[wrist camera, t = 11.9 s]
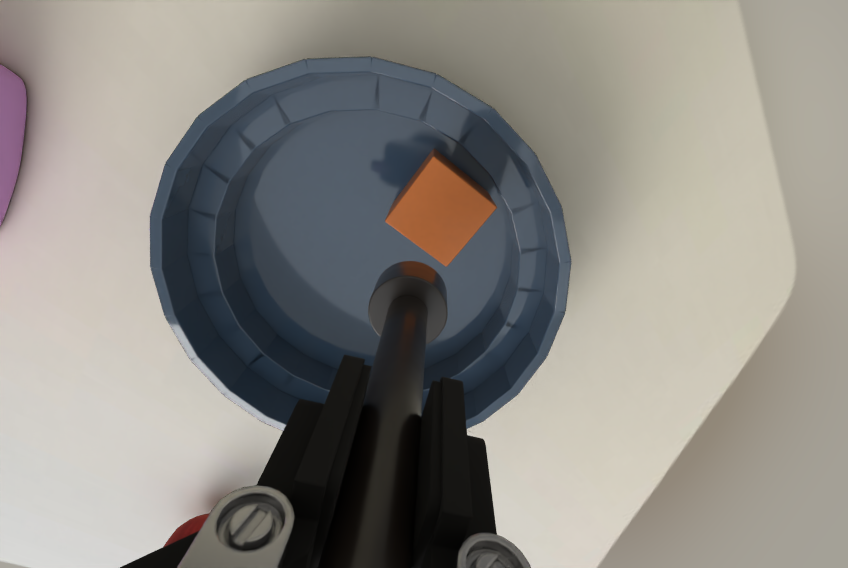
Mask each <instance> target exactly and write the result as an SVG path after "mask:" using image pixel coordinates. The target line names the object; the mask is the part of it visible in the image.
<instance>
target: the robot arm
mask: <svg viewBox="0 0 848 568" xmlns="http://www.w3.org/2000/svg"><path fill="white" fill-rule="evenodd" d="M364 362H365V359H363V358H358V357H354V356H350V355H344V356H343V358H342V361H341V364H340V366H339V369H338V371H337V374H336V376H335V379H334V381H333V384H332V386H331V389H330V391H329V394H328V396H327V399H326V401H325V404H322V403H318V402H313V401H308V400H304V399H300V400H299V401H298V402H297V404H296V406H295V408H294V410H293V412H292V414H291V416H290V418H289V420H288V422H287V424H286V426H285V428H284V430H283V433H282V435H281V437H280V439H279V441H278V443H277V445H276V447H275V449H274V451H273V453H272V455H271V457H270V459H269V461H268V463H267V465H266V467H265V469H264V471H263V473H262V475H261V477H260V479H259V481H258V483H257V485H256V486H249V487H243V488H241V489H238V490H236V491H233V492H231V493H230V494H228V495H227V496H225V497H224V498H223V499H221V500H220V501H219V502H218V503H217V505H216V506H215V507H214V508H213V510H212V511H211V512H210V514H209V516H208V517H207V519H206V521H205V522H204V524H203V526H202V527H201V529H200V530H199V531H197V532H195V533H193V534H191V535H189V536H186V537H184V538H182V539H180V540H178V541H176V542H174V543H171V544H169V545H167V546H165V547H163V548H161V549H159V550H157V551H154V552H152V553H150V554H148V555H146V556H144V557H142V558H139V559H137V560H135V561H133V562H131V563H129V564H127V565H124V566H122V567H120V568H318V565H319V561H320V558H321V554H322V550H323V547H324V545H325V543H326V541H327V538H328V534H329V530H330V527H331V523H332V519H333V515H334V512H335V508H336V504H337V500H338V497H339V493H340V489H341V486H342V482H343V478H344V474H345V471H346V467H347V463H348V459H349V456H350V452H351V448H352V445H353V441H354V437H355V433H356V430H357V426H358V422H359V418H360V415H361V411H362V407H363V403H364V399H365V394H366V390H367V385H368V381H369V377H370V372H371V368H372V366H368V365H364ZM412 559H413V560H412V568H531V567H530V564H529V562H528V561H527V559H526V558H525V556H524V555H523V553H522V552H521V551H520V550H519V549H518V548H517V547H516V546H515V545H514V544H513V543H512V542H510V541H508V540H507V539H505V538H504V537H502V536H499V535H497V533H496V525H495V517H494V509H493V501H492V493H491V485H490V477H489V469H488V461H487V453H486V445H485V441H484V440H483V439H481V438H477V437H472V436H468V435H467V429H466V415H465V401H464V388H463V381H460V380H455V379H451V378H447V377H441V379H440V382H439V381H434V380H433V381H432V383H431V386H430V390H429V393H428V396H427V400H426V403H425V407H424V410H423V413H422V417H421V425H420V441H419V457H418V473H417V488H416V504H415V520H414V536H413V552H412Z"/></svg>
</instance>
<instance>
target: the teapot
mask: <svg viewBox="0 0 848 568" xmlns="http://www.w3.org/2000/svg"><path fill="white" fill-rule="evenodd" d="M26 106H27V98H26V88H25V85H24V82H23V81H22V79H21V78H20V77H18V76H17V75H16V74H15V73H13V72H12V71H10V70H8V69H7V68H5V67H4V66H2V65H1V64H0V226H1V223H2V221H3V219H4V216H5V214H6V211H7V208H8V205H9V202H10V199H11V196H12V193H13V190H14V187H15V184H16V180H17V176H18V172H19V167H20V162H21V156H22V148H23V140H24V131H25V121H26Z"/></svg>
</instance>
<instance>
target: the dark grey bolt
mask: <svg viewBox="0 0 848 568" xmlns="http://www.w3.org/2000/svg"><path fill="white" fill-rule="evenodd" d="M368 315H369V320H370V323H371V325H372V327H373V329H374V331H375V332H376V333H377V334H378V335H379V336H380V341H379V345H378V348H377V352H376V356H375V359H374V363H373V367H372V370H371V374H370V378H369V381H368V385H367V390H366V394H365V399H364V403H363V407H362V411H361V415H360V418H359V422H358V426H357V430H356V433H355V437H354V441H353V445H352V448H351V452H350V456H349V459H348V463H347V467H346V471H345V474H344V478H343V482H342V486H341V489H340V493H339V497H338V500H337V504H336V508H335V512H334V515H333V519H332V523H331V527H330V530H329V534H328V538H327V541H326V543H325V545H324V547H323V550H322V554H321V558H320V561H319V565H318V568H412V560H413V559H412V552H413V536H414V520H415V504H416V488H417V473H418V457H419V441H420V425H421V414H422V398H423V381H424V365H425V349H426V344H428V343H430V342H432V341H433V340H434V339H435V338H437V337H438V336H439V335H440V333H441V332H442V330H443V329H444V327H445V324H446V321H447V315H448V309H447V290H446V286H445V283H444V281H443V279H442V278H441V276H440V275H439V274H438V273H437V271H435V270H434V269H433V268H432V267H430V266H428V265H426V264H424V263H421V262H417V261H403V262H399V263H396V264H394V265H392V266H390V267H389V268H387V269H386V270H385V271H384V272H383V273H382V274H381V275H380V277H379V278H378V281H377V283H376V285H375V288H374V291H373V293H372V296H371V298H370V301H369V306H368Z"/></svg>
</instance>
